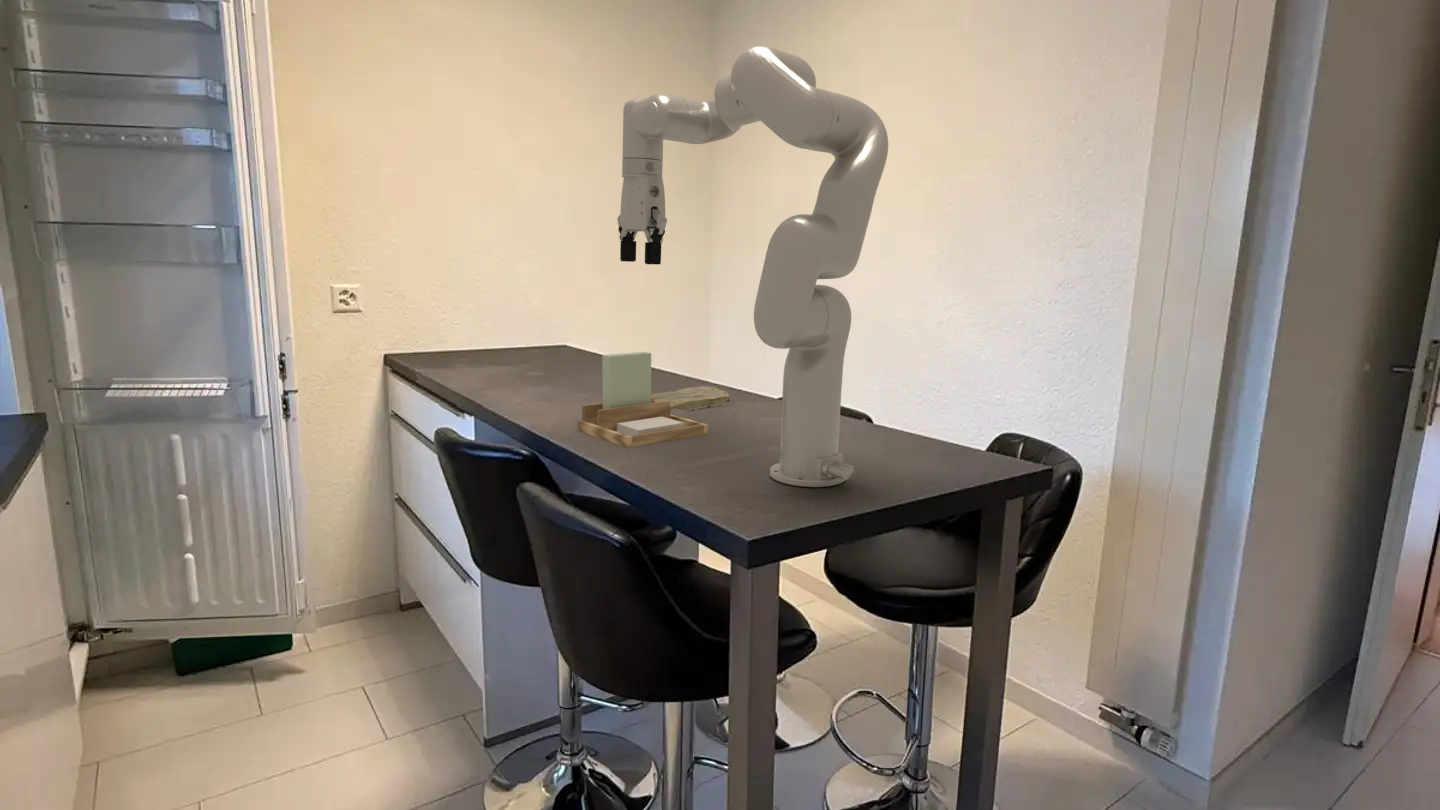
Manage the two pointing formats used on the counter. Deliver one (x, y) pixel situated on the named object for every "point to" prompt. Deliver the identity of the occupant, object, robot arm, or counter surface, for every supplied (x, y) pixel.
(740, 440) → the counter surface
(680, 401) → the stone slab
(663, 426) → the upper offcut
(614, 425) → the tray
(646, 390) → the pale green slab
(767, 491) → the counter surface
